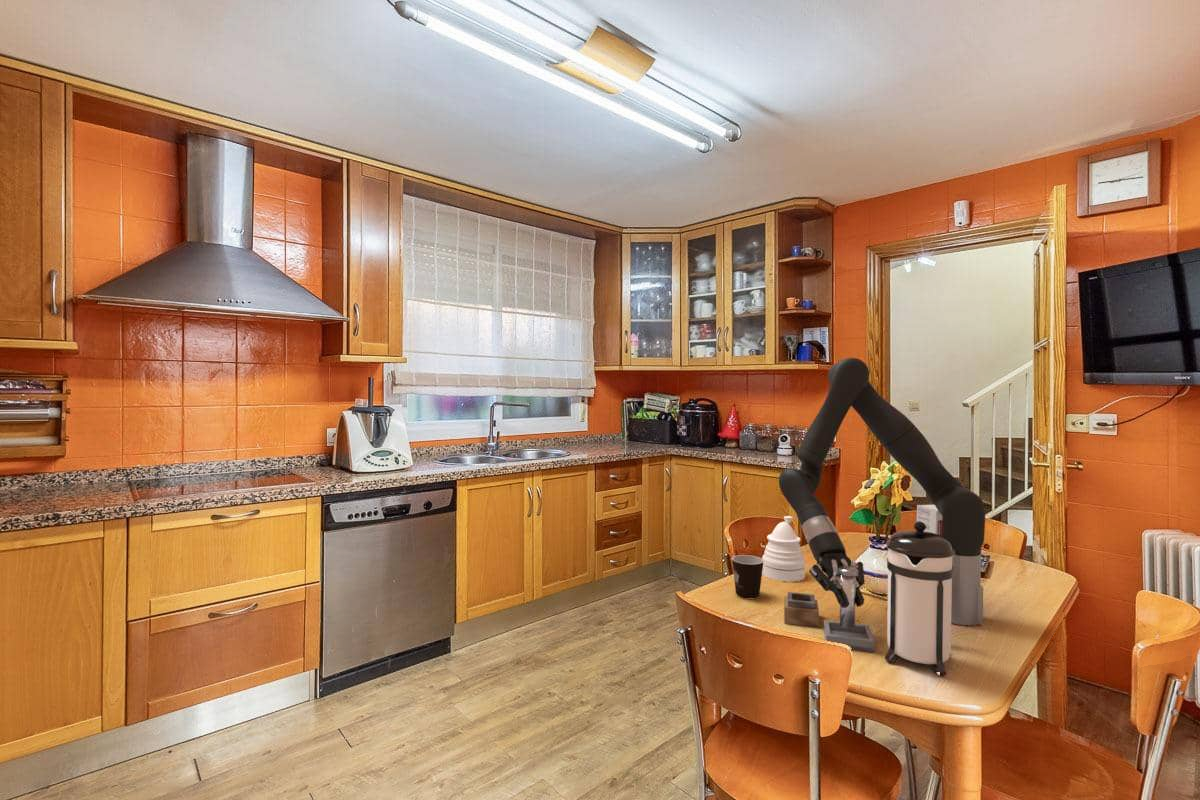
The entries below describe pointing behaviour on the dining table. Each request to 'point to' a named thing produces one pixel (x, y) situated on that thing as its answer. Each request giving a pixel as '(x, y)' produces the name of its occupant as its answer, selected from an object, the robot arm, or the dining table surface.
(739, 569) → the coffee mug
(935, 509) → the supplement box
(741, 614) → the dining table surface
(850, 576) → the pin
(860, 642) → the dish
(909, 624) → the coffee press
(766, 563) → the honey pot
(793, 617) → the block
